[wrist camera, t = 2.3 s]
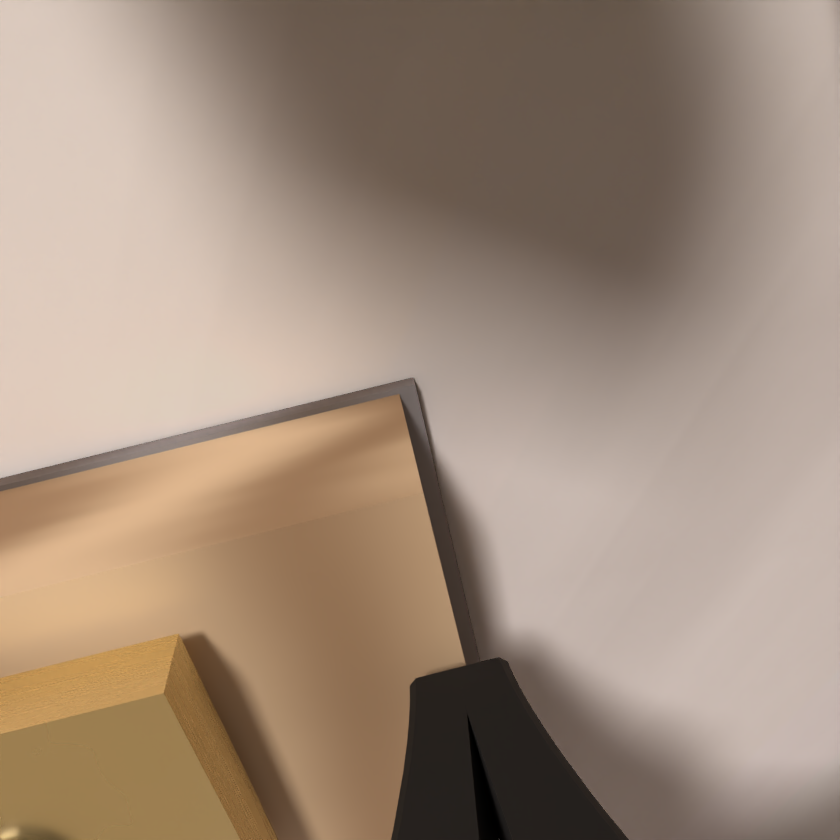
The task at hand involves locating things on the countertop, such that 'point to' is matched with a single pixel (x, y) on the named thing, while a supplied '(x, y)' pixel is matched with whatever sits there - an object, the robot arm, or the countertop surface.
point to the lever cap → (121, 753)
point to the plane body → (259, 588)
